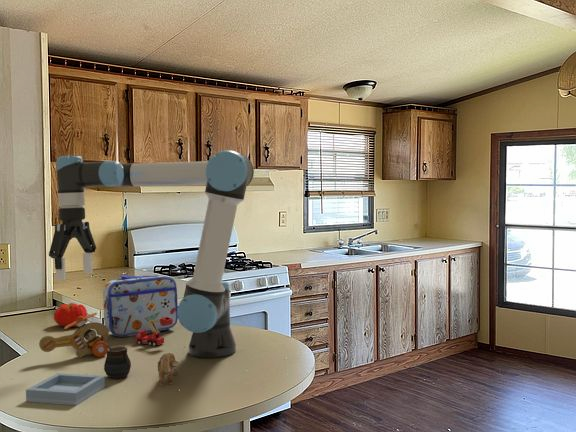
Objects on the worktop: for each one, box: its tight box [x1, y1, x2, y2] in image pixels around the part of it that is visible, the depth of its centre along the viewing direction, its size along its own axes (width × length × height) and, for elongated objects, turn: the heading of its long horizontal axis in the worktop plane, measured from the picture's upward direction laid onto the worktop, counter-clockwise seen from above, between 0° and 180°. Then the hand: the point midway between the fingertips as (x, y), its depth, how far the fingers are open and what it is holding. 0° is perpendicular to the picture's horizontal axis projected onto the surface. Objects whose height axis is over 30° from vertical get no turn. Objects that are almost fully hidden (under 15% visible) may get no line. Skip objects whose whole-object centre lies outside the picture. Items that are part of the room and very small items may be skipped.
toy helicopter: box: [38, 312, 110, 358], centre depth 175 cm, size 8×21×14 cm, turn 123°
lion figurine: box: [157, 352, 179, 387], centre depth 153 cm, size 15×5×9 cm, turn 13°
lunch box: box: [102, 274, 179, 338], centre depth 206 cm, size 28×10×22 cm, turn 122°
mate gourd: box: [103, 344, 132, 380], centre depth 156 cm, size 7×8×10 cm
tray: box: [25, 372, 106, 406], centre depth 143 cm, size 14×13×3 cm
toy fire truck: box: [135, 317, 173, 347], centre depth 190 cm, size 3×14×10 cm, turn 68°
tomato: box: [53, 302, 88, 328], centre depth 219 cm, size 13×12×8 cm
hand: (75, 276), depth 169 cm, fingers open, 13 cm apart
